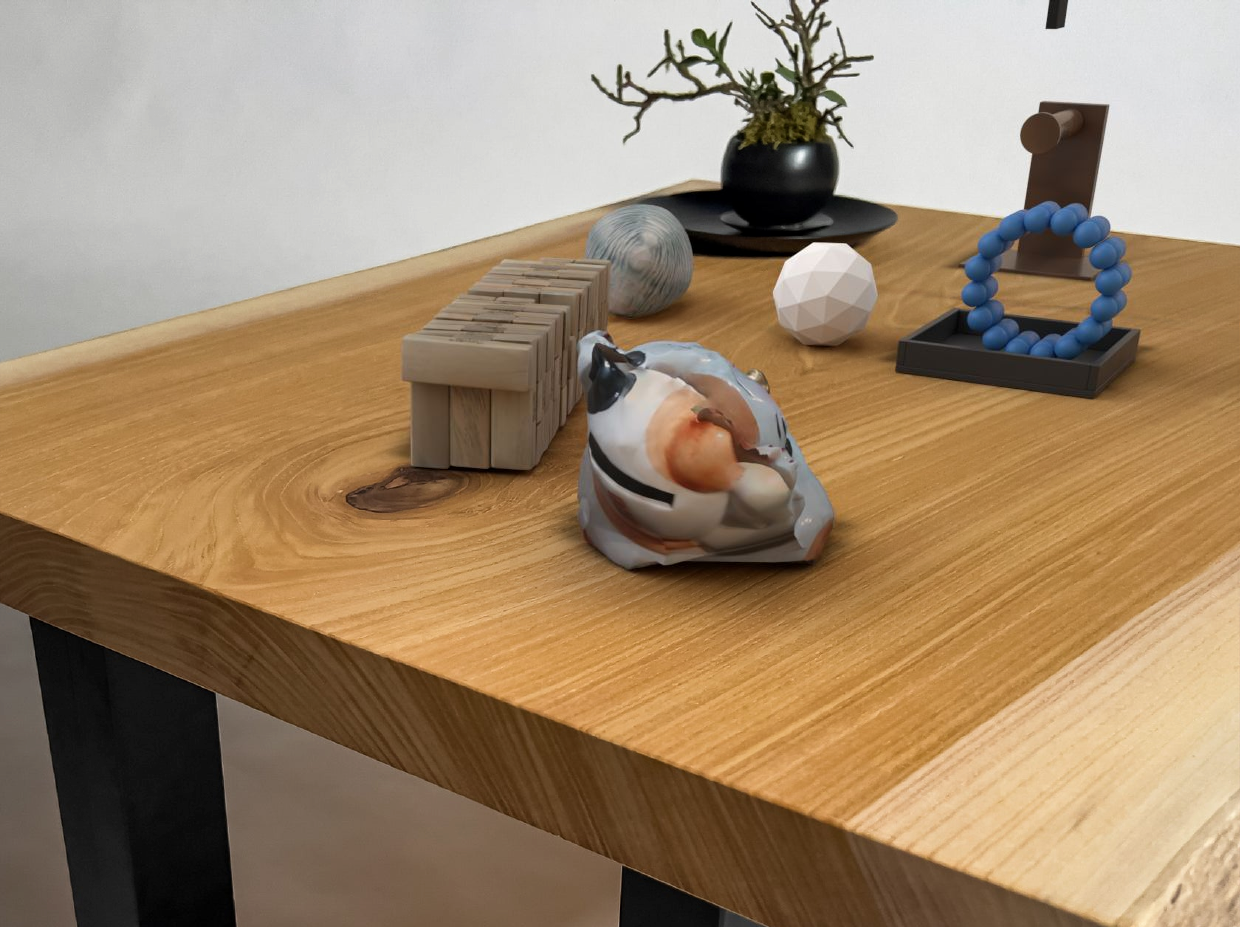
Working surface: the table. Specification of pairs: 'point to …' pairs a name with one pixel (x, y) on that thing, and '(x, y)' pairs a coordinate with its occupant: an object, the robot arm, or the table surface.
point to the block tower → (503, 363)
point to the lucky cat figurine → (691, 461)
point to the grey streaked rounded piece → (642, 258)
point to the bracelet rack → (1059, 185)
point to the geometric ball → (825, 294)
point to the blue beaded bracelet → (1084, 237)
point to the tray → (1015, 356)
